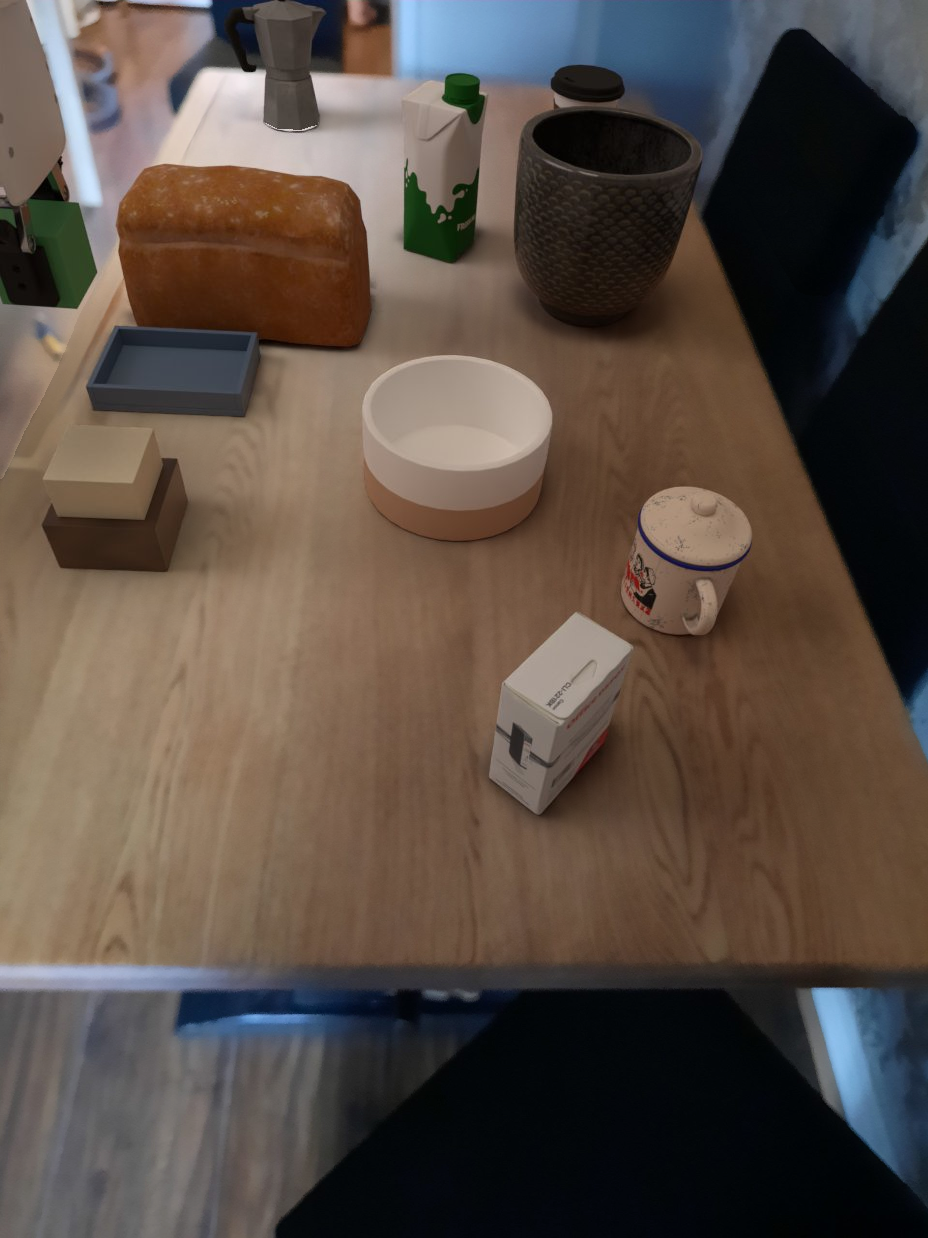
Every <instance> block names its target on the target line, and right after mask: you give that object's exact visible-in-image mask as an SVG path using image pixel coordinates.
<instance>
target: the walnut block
mask: <svg viewBox="0 0 928 1238" xmlns="http://www.w3.org/2000/svg"><path fill="white" fill-rule="evenodd" d="M161 458H162V462H163V467H162V470H161V473H160V476H159V479H158V482H157V485H156V488H155V491H154V494H153V497H152V499H151V502H150V505H149V508H148V511H147V514H146V517H145V520H131V519H105V518H80V517H58V516H57V514H56V511H55V509H54V506H53V504H52V502H51V503H50V505H49V507H48V509H47V512H46V514H45V516H44V518H43V520H42V523H41V527H42V530H43V533H44V535H45V536H46V539H47V541H48V543H49V546H50V548H51V551H52V553H53V555H54V558H55V559H56V561H57V565H58V566H59V568H60V569H89V570H90V569H91V570H115V571H116V570H117V571H118V570H119V571H144V572H145V571H146V572H168V569H169V565H170V563H171V559H172V557H173V556H172V555H173V553H174V549H175V545H176V543H177V539H178V535H179V532H180V529H181V526H182V522H183V519H184V516H185V512H186V509H187V506H188V503H189V498H188V495H187V490H186V487H185V483H184V480H183V479H184V478H183V475H182V471H181V467H180V461H179V459H178V458H175V457H174V458H172V457H161Z"/></svg>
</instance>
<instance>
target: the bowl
mask: <svg viewBox="0 0 928 1238" xmlns="http://www.w3.org/2000/svg"><path fill="white" fill-rule="evenodd" d="M361 424H362V425H361V426H362V427H361V428H362V449H363V469H364V470H363V471H364V484H365V485H364V487H365V489H366V492H367V495H368V497H369V499H370V501H371V502H372V504H373V505H374V507H375V508H376V509H377V511H378V512H379V513H381V514H382V515H383V516H384V517H385V518H386V519H387V520H388V521H390V522H391V523H393V524H395V525H397V526H398V527H400V528H401V529H402V530H406V531H408V532H410V533H413V534H415V535H418V536H421V537H426V538H431V539H434V540H440V541H451V542H459V541H460V542H461V541H465V542H466V541H477V540H482V539H487V538H491V537H494V536H496V535H499V534H502V533H505V532H507V531H509V530H510V529H513V528H514V527H516V526H517V525H519V524H520V523H521V522H522V521H523V520H525V519H526V518H527V517H528V516H529V515H531V512H532V511H533V509H534V508H535V507H536V505H537V503H538V501H539V497H540V494H541V491H542V485H543V480H544V473H545V468H546V464H547V459H548V454H549V447H550V442H551V436H552V432H553V431H552V429H553V411H552V408H551V405H550V401H549V400H548V398H547V396H546V394H544V392H543V390H542V389H541V388H540V387H539V386H538V385H537V383H535V382H534V381H533V380H531V379H530V378H528V377H527V376H526V375H524V374H523V373H521V372H520V371H518V370H516V369H514V368H513V367H512V368H511V367H510V366H507V365H505V364H503V363H500V362H497V361H494V360H490V359H486V358H481V357H477V356H469V355H458V354H446V355H445V354H444V355H441V354H440V355H439V354H438V355H433V356H432V355H431V356H425V357H420V358H416V359H411V360H408V361H405V362H403V363H400V364H398V365H396V366H393V367H391V368H390V369H388V370H387V371H384V372H383V373H382V374H380V375H379V376H378V377H377V378H376V379H375V380H374V381H373V382H372V383H371V384H370V386H369V388H368V389H367V391H366V393H365V394H364V398H363V401H362V405H361Z"/></svg>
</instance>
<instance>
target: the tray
mask: <svg viewBox="0 0 928 1238" xmlns="http://www.w3.org/2000/svg"><path fill="white" fill-rule="evenodd" d="M260 359H261V349H260V341H259V339H258V333H256V332H236V331H216V330H197V329H177V328H157V327H138V326H137V325H136V326H135V325H133V326H132V325H113V328H112V330H111V332H110V335H109V336H108V338H107V341H106V343H105V345H104V347H103V349H102V351H101V353H100V356H99V357H98V360H97V362H96V364H95V366H94V367H93V370H92V372H91V374H90V376H89V379H88V381H87V383H86V385H85V389H86V393H87V396H88V398H89V401H90V405H91V408H92V410H93V411H110V412H111V411H112V412H132V413H135V412H136V413H155V414H174V415H175V414H176V415H178V414H179V415H181V414H182V415H198V416H199V415H200V416H218V417H219V416H221V417H241V418H242V417H243V418H244V417H245V416H246V412H247V408H248V406H249V405H248V404H249V401H250V397H251V394H252V390H253V386H254V385H253V384H254V381H255V377H256V373H257V371H258V370H257V369H258V366H259V362H260Z"/></svg>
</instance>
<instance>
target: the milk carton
mask: <svg viewBox="0 0 928 1238" xmlns="http://www.w3.org/2000/svg"><path fill="white" fill-rule="evenodd" d="M480 80H481V79H480V78H479V77H478V76H476V75H474V74H471V73H464V72H455V73H454V72H453V73H450V74H447V75H446V76H445V78H444V82H441V81H437V80H433V79H429V80H427V81H426V82H424V83H423V84H421V85H419V86H418V87H417V88H415V89H414V90H411V92H409V93H407V94H406V95H405V96H403V97H401V98H400V101H401V102H400V103H401V110H402V117H403V118H402V120H403V135H404V137H403V138H404V140H403V148H404V149H403V250H405V251H408V252H412V253H415V254H419V255H422V256H425V257H428V258H432V259H436V260H439V261H443V262H446V263H450V264H453V263H454V262H455V261H456V260H457V259H458V258H459V257H460V256H461V255H462V254H463V253H464V252H465V251H466V250H467V249H468V248H469V247H470V246H471V245H472V244H473V243H474V242H475V235H476V222H477V210H478V195H479V182H480V170H481V169H480V167H481V157H482V156H481V155H482V141H483V132H484V127H485V126H484V125H485V120H486V112H487V107H488V101H489V93H488V92H486V91H483V90H481V91H480V88H481V81H480Z"/></svg>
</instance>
